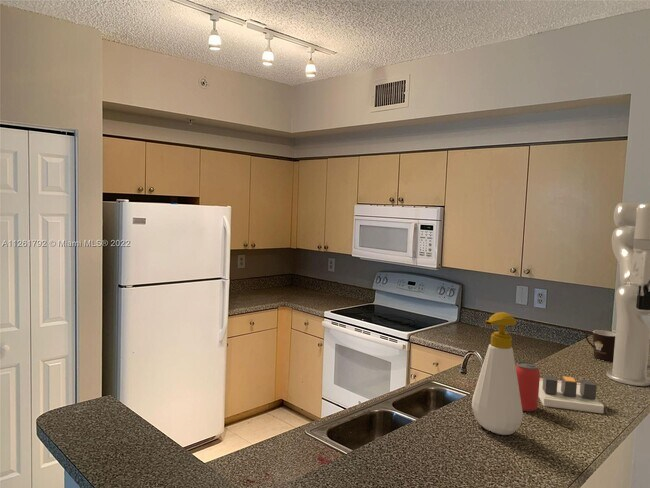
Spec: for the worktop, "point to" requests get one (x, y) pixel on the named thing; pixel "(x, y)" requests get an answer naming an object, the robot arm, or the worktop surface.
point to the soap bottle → (498, 383)
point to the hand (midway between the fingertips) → (643, 309)
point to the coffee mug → (603, 344)
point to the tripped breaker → (568, 386)
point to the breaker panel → (555, 398)
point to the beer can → (528, 385)
